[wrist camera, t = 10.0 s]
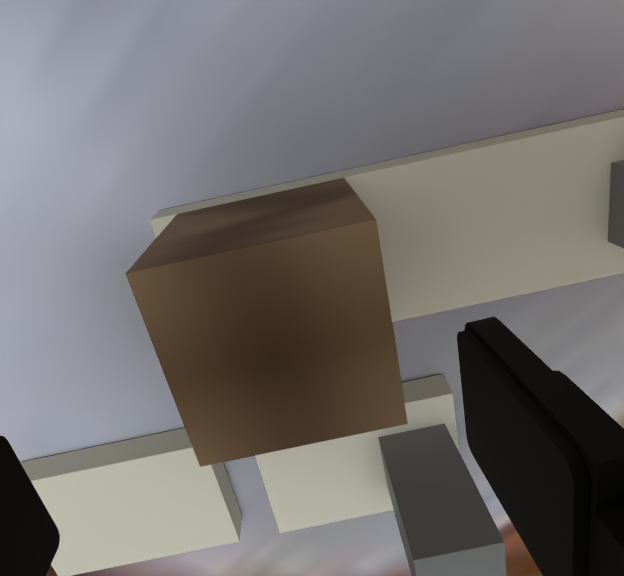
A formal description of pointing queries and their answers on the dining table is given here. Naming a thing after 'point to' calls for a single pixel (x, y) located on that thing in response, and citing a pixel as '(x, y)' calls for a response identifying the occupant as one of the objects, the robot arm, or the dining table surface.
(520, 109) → the dining table surface
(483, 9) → the dining table surface
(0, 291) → the dining table surface
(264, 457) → the broken strip
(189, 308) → the walnut cube
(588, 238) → the cream strip
